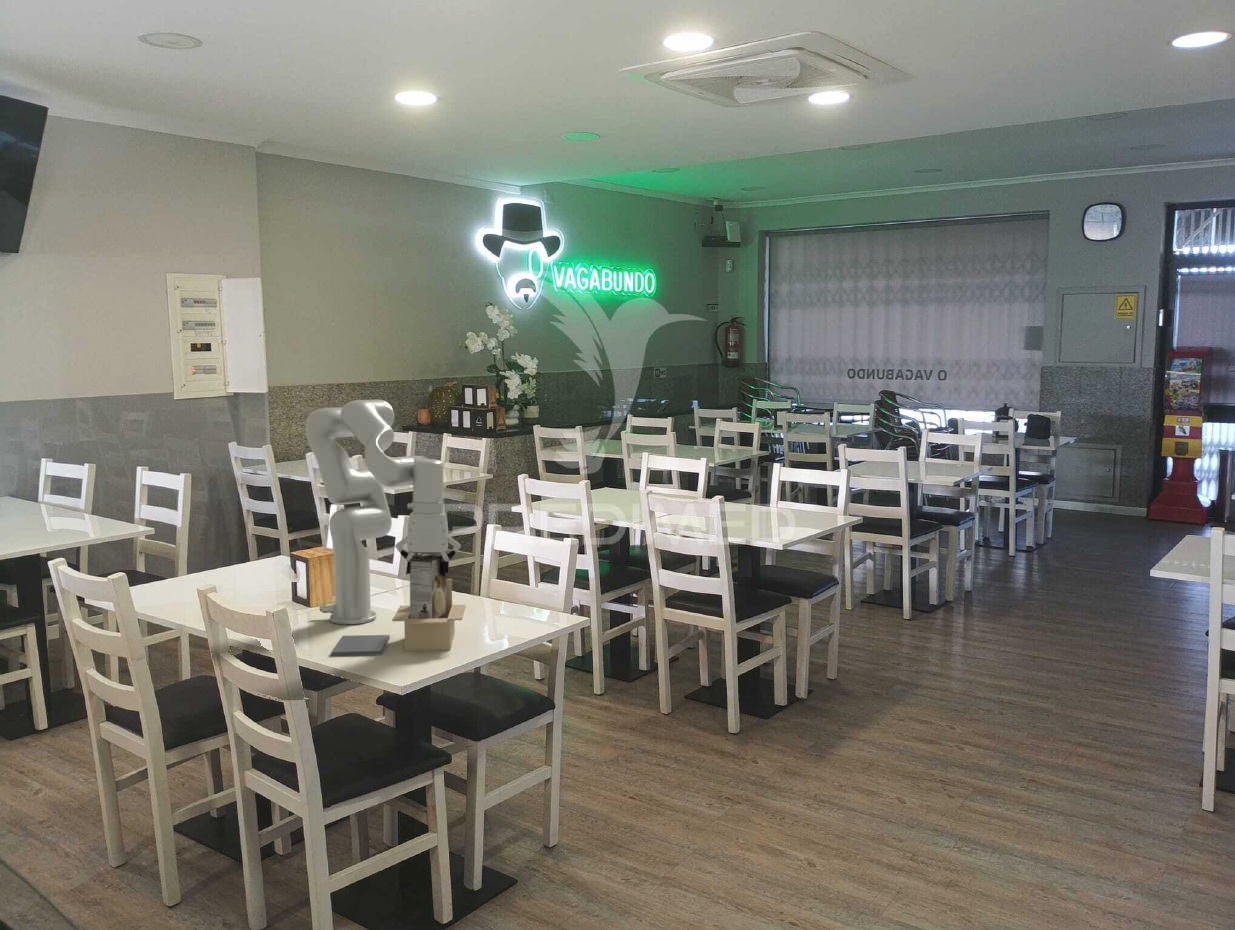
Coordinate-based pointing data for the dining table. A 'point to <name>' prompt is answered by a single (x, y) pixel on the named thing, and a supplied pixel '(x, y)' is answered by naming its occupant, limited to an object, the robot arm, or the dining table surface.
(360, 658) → the dining table surface
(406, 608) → the carton
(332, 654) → the tray
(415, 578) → the coffee box
